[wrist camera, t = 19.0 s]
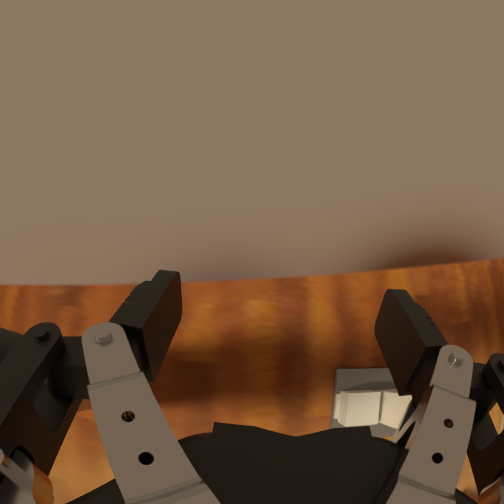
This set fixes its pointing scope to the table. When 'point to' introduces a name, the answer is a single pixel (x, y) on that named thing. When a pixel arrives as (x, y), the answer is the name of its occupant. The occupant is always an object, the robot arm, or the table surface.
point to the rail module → (392, 407)
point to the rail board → (364, 384)
